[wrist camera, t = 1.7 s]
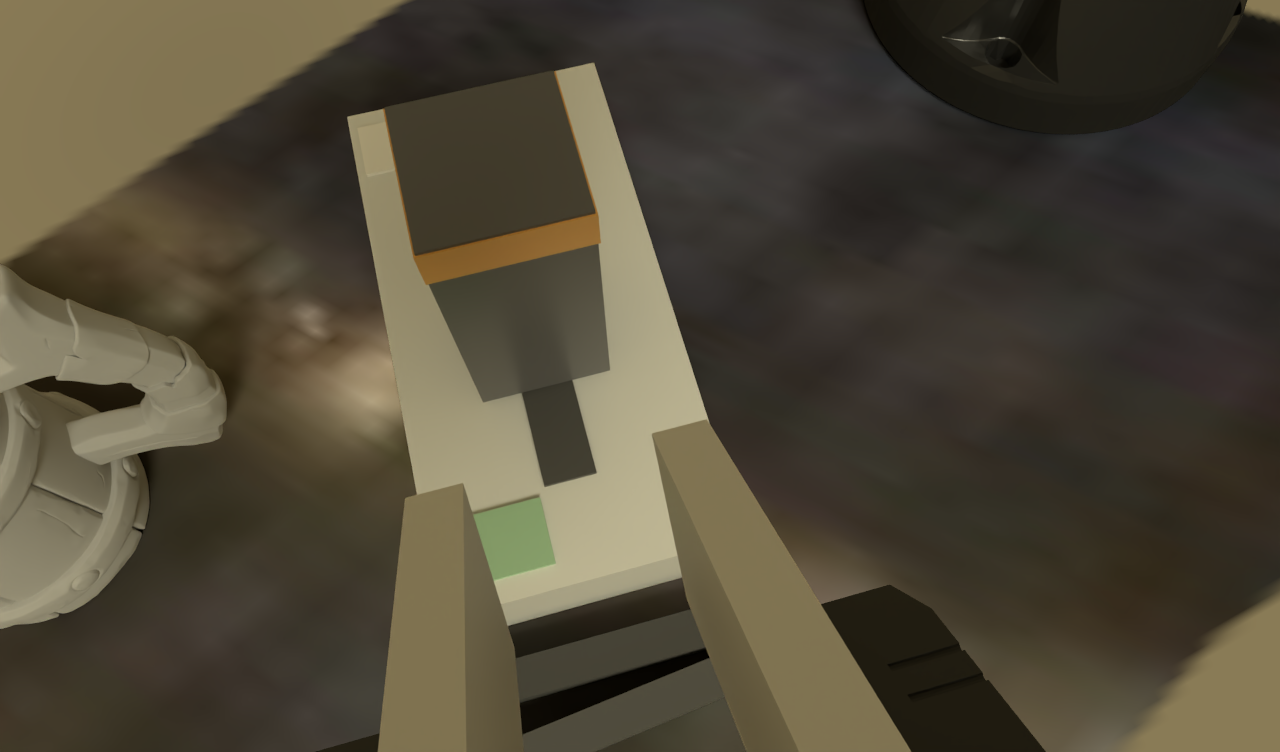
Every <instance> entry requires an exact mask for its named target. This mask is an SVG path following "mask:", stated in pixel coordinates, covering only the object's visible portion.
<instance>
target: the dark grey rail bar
mask: <svg viewBox="0 0 1280 752" xmlns="http://www.w3.org/2000/svg"><path fill="white" fill-rule="evenodd" d="M704 650H706V647H705V645H704V642H703V640H702V637H701V635H700V632H699V629H698V627H697V624H696V622H695V619H694V617H693V614H692V612H691V609H690V610H686V611H683V612H679V613H675V614H672V615H668V616H665V617H661V618H658V619H654V620H651V621H647V622H644V623H640V624H636V625H633V626H629V627H626V628H622V629H619V630H615V631H612V632H608V633H604V634H601V635H597V636H594V637H590V638H587V639H583V640H580V641H576V642H572V643H569V644H565V645H562V646H558V647H555V648H551V649H548V650H544V651H540V652H537V653H533V654H530V655H526V656H523V657H519V658H516V670H517V681H518V692H519V703H522V702H526V701H529V700H533V699H536V698H540V697H543V696H547V695H550V694H554V693H557V692H561V691H564V690H568V689H571V688H575V687H578V686H582V685H585V684H589V683H592V682H596V681H599V680H603V679H606V678H610V677H613V676H617V675H620V674H624V673H627V672H631V671H634V670H638V669H641V668H645V667H648V666H651V665H655V664H658V663H662V662H665V661H669V660H672V659H676V658H679V657H683V656H686V655H690V654H693V653H697V652H700V651H704Z"/></svg>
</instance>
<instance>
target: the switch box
mask: <svg viewBox="0 0 1280 752" xmlns="http://www.w3.org/2000/svg"><path fill="white" fill-rule="evenodd" d="M556 74H557V78H558V81H559V85H560V88H561V91H562V95H563V98H564V101H565V105H566V108H567V111H568V115H569V118H570V121H571V125H572V128H573V131H574V135H575V138H576V141H577V145H578V148H579V151H580V155H581V158H582V162H583V165H584V168H585V172H586V175H587V178H588V182H589V185H590V188H591V192H592V195H593V198H594V202H595V205H596V208H597V212H598V216H599V227H600V239H601V243H599V255H600V266H601V277H602V288H603V298H604V309H605V320H606V331H607V342H608V352H609V363H610V371H606V372H602V373H598V374H594V375H590V376H586V377H582V378H578V379H574V380H570V381H566V382H562V383H558V384H555V385H551V386H547V387H543V388H539V389H535V390H531V391H527V392H523V393H519V394H515V395H511V396H507V397H503V398H499V399H495V400H491V401H487V402H484V403H483V401H482V399H481V397H480V395H479V392H478V390H477V388H476V386H475V384H474V382H473V380H472V377H471V375H470V373H469V371H468V369H467V367H466V364H465V362H464V360H463V358H462V356H461V354H460V352H459V349H458V347H457V345H456V343H455V341H454V339H453V336H452V334H451V332H450V330H449V328H448V326H447V323H446V321H445V319H444V317H443V315H442V313H441V311H440V308H439V306H438V304H437V302H436V300H435V298H434V295H433V293H432V291H431V289H430V287H429V285H426V284H425V282H424V280H423V278H422V276H421V274H420V272H419V270H418V267H417V265H416V263H415V261H414V259H413V254H412V249H411V244H410V240H409V235H408V230H407V225H406V220H405V215H404V210H403V205H402V200H401V195H400V191H399V186H398V181H397V176H396V171H395V166H394V161H393V156H392V151H391V147H390V142H389V137H388V132H387V127H386V122H385V117H384V112H383V109H381V110H376V111H372V112H367V113H363V114H358V115H354V116H349V117H347V119H348V124H349V130H350V135H351V140H352V146H353V151H354V157H355V162H356V167H357V173H358V178H359V184H360V189H361V194H362V200H363V205H364V211H365V216H366V221H367V227H368V232H369V238H370V243H371V248H372V254H373V259H374V265H375V270H376V275H377V281H378V286H379V292H380V297H381V302H382V308H383V313H384V319H385V324H386V329H387V335H388V340H389V346H390V351H391V356H392V362H393V367H394V373H395V378H396V383H397V389H398V394H399V400H400V405H401V410H402V416H403V421H404V427H405V432H406V437H407V443H408V448H409V454H410V459H411V464H412V470H413V475H414V481H415V486H416V492H417V495H418V494H422V493H426V492H430V491H433V490H437V489H441V488H445V487H449V486H453V485H456V484H460V483H463V484H464V487H465V491H466V494H467V497H468V500H469V503H470V507H471V510H472V513H473V516H474V519H475V523H476V526H477V529H478V532H479V535H480V539H481V542H482V545H483V548H484V552H485V555H486V558H487V561H488V564H489V568H490V571H491V574H492V577H493V580H494V584H495V587H496V590H497V593H498V596H499V600H500V603H501V606H502V609H503V612H504V616H505V619H506V622H507V625H508V626H510V625H513V624H517V623H521V622H524V621H528V620H531V619H535V618H539V617H542V616H546V615H549V614H553V613H557V612H560V611H564V610H567V609H571V608H575V607H578V606H582V605H585V604H589V603H592V602H596V601H600V600H603V599H607V598H610V597H614V596H618V595H621V594H625V593H628V592H632V591H636V590H639V589H643V588H646V587H650V586H654V585H657V584H661V583H664V582H668V581H672V580H675V579H679V578H682V575H681V570H680V565H679V560H678V556H677V551H676V546H675V542H674V537H673V532H672V527H671V523H670V518H669V513H668V508H667V504H666V499H665V494H664V490H663V485H662V480H661V475H660V471H659V466H658V461H657V456H656V452H655V447H654V442H653V438H652V433H655V432H659V431H663V430H667V429H671V428H675V427H678V426H682V425H686V424H690V423H694V422H698V421H701V420H705V419H707V421H708V417H707V414H706V411H705V408H704V405H703V402H702V399H701V396H700V392H699V389H698V386H697V383H696V380H695V377H694V374H693V371H692V367H691V364H690V361H689V358H688V355H687V352H686V349H685V346H684V342H683V339H682V336H681V333H680V330H679V327H678V324H677V321H676V317H675V314H674V311H673V308H672V305H671V302H670V299H669V296H668V292H667V289H666V286H665V283H664V280H663V277H662V274H661V271H660V267H659V264H658V261H657V258H656V255H655V252H654V249H653V246H652V242H651V239H650V236H649V233H648V230H647V227H646V224H645V221H644V217H643V214H642V211H641V208H640V205H639V202H638V199H637V196H636V192H635V189H634V186H633V183H632V180H631V177H630V174H629V171H628V168H627V164H626V161H625V158H624V155H623V152H622V149H621V146H620V143H619V139H618V136H617V133H616V130H615V127H614V124H613V121H612V118H611V114H610V111H609V108H608V105H607V102H606V99H605V96H604V93H603V89H602V86H601V83H600V80H599V77H598V74H597V71H596V68H595V64H594V63H590V64H586V65H581V66H577V67H572V68H568V69H563V70H558V71H556ZM708 422H709V421H708Z"/></svg>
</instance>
